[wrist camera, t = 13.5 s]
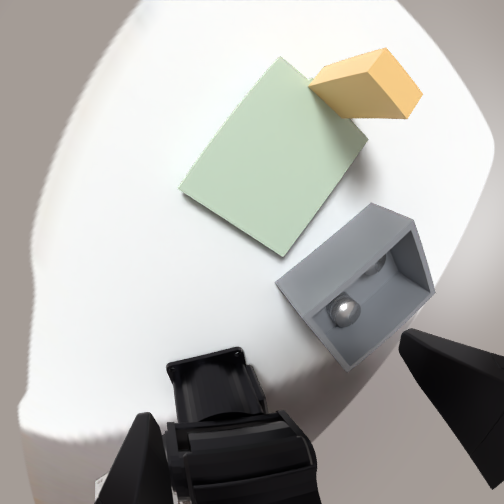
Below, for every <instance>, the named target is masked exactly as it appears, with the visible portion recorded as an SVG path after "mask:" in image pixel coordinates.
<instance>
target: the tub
mask: <svg viewBox="0 0 504 504" xmlns="http://www.w3.org/2000/svg"><path fill="white" fill-rule="evenodd" d="M385 254H386V261H385V264H384V266H383V268H382V269H381V270H380V271H379V272H378V273H376V274H374V275H367V274H365V272H366V271H367V270H368V269H369V268H370V267H371V266H373V265H374V264H375V263H376V262H377V261H378V260H379V259H380V258H381V257H383V256H384V255H385ZM275 283H276V284H277V286H278V287H279V288H280V290H281V291H282V292H283V294H284V295H285V296H286V298H287V299H288V300H289V302H290V303H291V304H292V306H293V307H294V308H295V310H296V311H297V312H298V314H299V315H300V316H301V318H302V319H303V320H304V321H305V322H306V324H307V325H308V326H309V327H310V329H311V330H312V331H313V332H314V333H315V335H316V336H317V337H318V338H319V340H320V341H321V342H322V343H323V344H324V346H325V347H326V348H327V349H328V350H329V352H330V353H331V354H332V355H333V357H334V358H335V359H336V360H337V361H338V363H339V364H340V365H341V366H342V368H343V369H344V370H345V371H346V372H347V373H348V372H349V371H350V370H351V369H353V368H354V367H355V366H356V365H358V364H359V363H360V362H361V361H363V360H364V359H365V358H366V357H367V356H369V355H370V354H371V353H372V352H373V351H374V350H376V349H377V348H378V347H379V346H380V345H381V344H383V343H384V342H385V341H386V340H387V339H388V338H389V337H390V336H391V335H393V334H394V333H395V332H396V331H397V330H398V329H399V328H400V327H401V326H402V325H403V324H404V323H406V322H407V321H408V320H409V319H410V318H411V317H412V316H413V315H414V314H415V313H416V312H417V311H418V310H419V309H420V308H421V307H422V306H423V305H424V304H425V303H426V302H427V301H428V300H429V299H430V298H431V297H432V296H433V295H434V294H435V289H434V285H433V281H432V277H431V274H430V270H429V267H428V263H427V260H426V256H425V253H424V250H423V247H422V243H421V240H420V237H419V234H418V231H417V228H416V225H415V222H414V220H413V219H411V218H408V217H406V216H403V215H401V214H399V213H396V212H394V211H391V210H389V209H386V208H384V207H381V206H379V205H376V204H373V203H371V204H369V205H368V206H367V207H366V208H365V209H364V210H362V211H361V212H360V213H359V214H358V215H356V216H355V217H354V218H353V219H352V220H351V221H349V222H348V223H347V224H346V225H345V226H343V227H342V228H341V229H340V230H339V231H337V232H336V233H335V234H334V235H333V236H331V237H330V238H329V239H328V240H327V241H325V242H324V243H323V244H322V245H321V246H319V247H318V248H317V249H316V250H315V251H313V252H312V253H311V254H310V255H308V256H307V257H306V258H305V259H303V260H302V261H301V262H300V263H299V264H297V265H296V266H295V267H294V268H292V269H291V270H290V271H289V272H287V273H286V274H285V275H284V276H282V277H281V278H280V279H279V280H277V281H276V282H275ZM342 292H346V293H347V294H348V295H350V296H351V297H352V298H353V299H354V300H355V301H356V302H357V303H358V304H359V305H360V307H361V313H360V316H359V318H358V319H357V320H356V322H355V323H353V324H352V325H350V326H348V327H340V326H338V325H337V324H336V322H335V321H334V320H333V319H332V318H331V317H330V316H329V315H328V313H327V312H326V305H327V304H328V303H330V302H331V301H332V300H333V299H334V298H336V297H337V296H338V295H339V294H340V293H342Z"/></svg>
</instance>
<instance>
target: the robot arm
mask: <svg viewBox="0 0 504 504" xmlns="http://www.w3.org/2000/svg"><path fill="white" fill-rule="evenodd" d="M236 352H239V353H237V354H235V353H236ZM399 353H400V355H401V357H402V358H403V360H404V362H405V363H406V365H407V366H408V368H409V370H410V372H411V373H412V375H413V377H414V378H415V380H416V381H417V383H418V385H419V386H420V387H421V389H422V390H423V391H424V393H425V394H426V395H427V397H428V398H429V400H430V401H431V402H432V404H433V405H434V406H435V408H436V409H437V410H438V412H439V413H440V414H441V416H442V417H443V419H444V420H445V421H446V423H447V424H448V426H449V427H450V428H451V430H452V431H453V433H454V434H455V436H456V437H457V438H458V440H459V441H460V443H461V444H462V446H463V447H464V449H465V450H466V451H467V453H468V454H469V455H470V458H471V459H472V460H473V462H474V463H475V465H476V466H477V468H478V469H479V471H480V472H481V474H482V476H483V477H484V479H485V480H486V481H487V483H488V485H489V486H490V488H491V489H492V490H493V489H494V488H496V487H497V486H498V485H499V484H500V483H502V482H503V481H504V356H500V355H497V354H494V353H490V352H487V351H484V350H480V349H477V348H474V347H470V346H467V345H464V344H461V343H457V342H454V341H451V340H448V339H445V338H441V337H438V336H435V335H432V334H428V333H426V332H422V331H419V330H416V329H412V328H411V329H408V330H406V331H404V332H403V333H402V335H401V339H400V344H399ZM170 368H174V369H170ZM166 370H167V373H168V375H169V378H170V380H171V382H172V384H173V387H174V396H175V404H176V412H177V420H178V423H174V422H167V429H168V431H165V434H164V435H162V434H161V430H160V427H159V425H158V424H157V422H156V420H155V419H154V417H153V416H152V414H151V413H150V412H144V413H139V414H137V416H136V418H135V420H134V422H133V424H132V426H131V428H130V430H129V432H128V434H127V436H126V438H125V440H124V442H123V444H122V446H121V448H120V450H119V452H118V454H117V456H116V459H115V461H114V463H113V465H112V467H111V469H110V471H109V473H108V475H107V477H106V480H105V482H104V484H103V486H102V488H101V490H100V492H99V495H98V497H97V499H96V501H95V503H94V504H174V501H173V494H172V489H173V492H176V493H177V498H178V502H182V501H190V503H191V504H322V503H321V500H320V496H319V493H318V487H317V480H316V472H317V459H316V454H315V451H314V448H313V445H312V444H311V442H310V440H309V439H308V437H307V436H306V435H305V434H304V433H303V432H302V430H301V429H300V428H299V427H298V426H297V425H296V424H295V422H294V421H293V420H292V419H291V418H290V417H289V415H288V414H287V413H286V412H285V411H284V410H280V411H276V413H270V414H268V409H267V403H266V398H265V395H264V393H263V390H262V388H261V386H260V384H259V381H258V379H257V376H256V374H255V372H254V369H253V367H252V366H251V365H247V366H246V363H245V359H244V354H243V351H242V349H241V348H240V347H233V348H230V349H226V350H222V351H218V352H214V353H210V354H206V355H201V356H197V357H193V358H188V359H184V360H180V361H175V362H170V363H168V364H167V365H166Z"/></svg>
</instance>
